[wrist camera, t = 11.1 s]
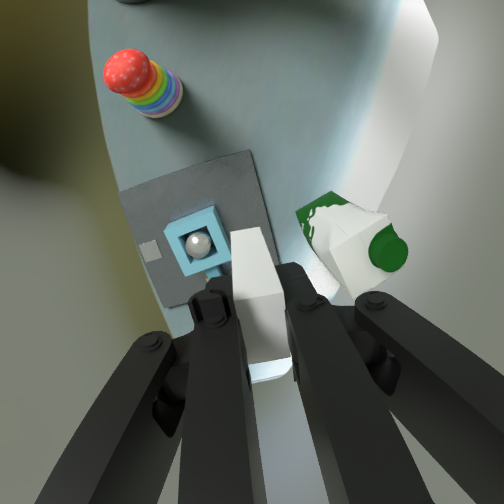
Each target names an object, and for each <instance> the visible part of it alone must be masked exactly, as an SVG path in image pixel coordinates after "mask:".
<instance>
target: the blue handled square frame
mask: <svg viewBox="0 0 504 504" xmlns="http://www.w3.org/2000/svg"><path fill="white" fill-rule="evenodd" d="M204 226H207V228H208V230H209V232H210V235H211V237H212V239H213V242H214V244H215V246H213V247H211V248H210V251H209V253H208V254H207V255H206V256H205V257H202V258H194V257H192V256H190V255H189V254H188V253H187V251H186V241H187V239H186V237H185V234H186V233H189V232H191V231H194V230H196V229H199V228H202V227H204ZM164 233H165V236H166V238H167V240H168V242H169V244H170V246H171V248H172V251H173V253H174V255H175V257H176V259H177V261H178V263H179V265H180V267H181V269H182V271H183V273H184V275H185V277H186V276H189V275H191V274H194V273H197V272H200V271H202V270H204V271H205V273H206V275H207V277H208V279H209V280H210V278H211V277H217V276H223V275H225V274H222V272H221V270H220V267H219V264H222V263H225V262H227V261H230V260H232V258H231V245H230V243H229V240H228V238H227V235H226V233H225V230H224V228H223V226H222V223H221V221H220V218H219V216H218V213H217V211H216V208H215V206H211V207H208V208H206V209H203V210H201V211H198V212H196V213H193V214H191V215H188V216H186V217H183V218H181V219H178V220H176V221H174V222H171V223H169V224H168V225H167V227H166V228H165V230H164Z"/></svg>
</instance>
